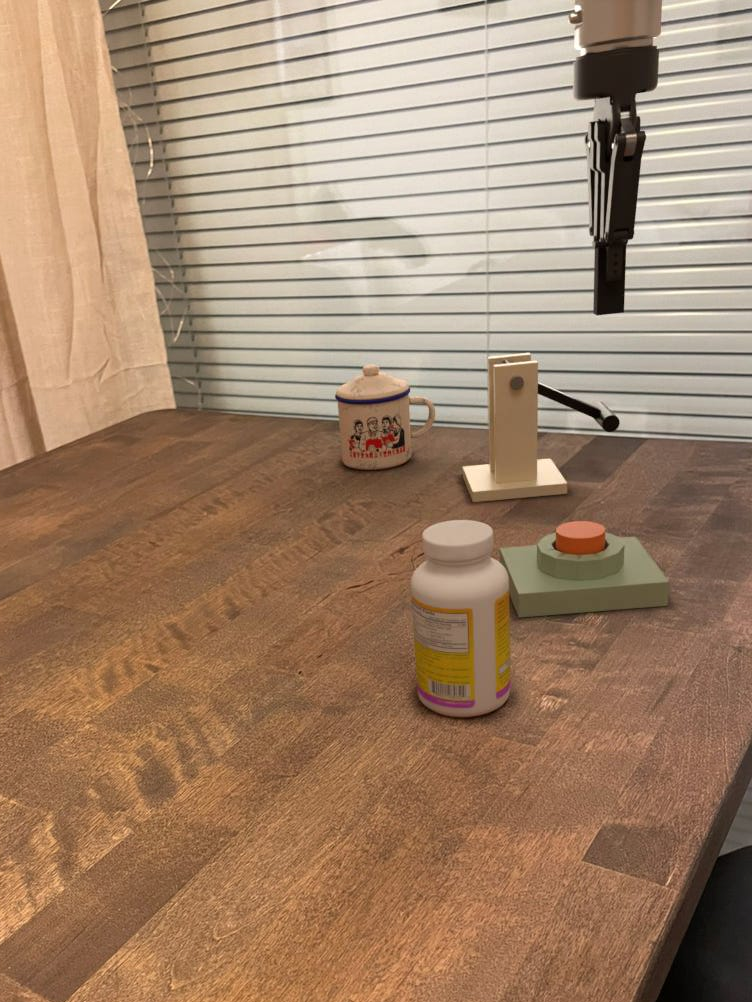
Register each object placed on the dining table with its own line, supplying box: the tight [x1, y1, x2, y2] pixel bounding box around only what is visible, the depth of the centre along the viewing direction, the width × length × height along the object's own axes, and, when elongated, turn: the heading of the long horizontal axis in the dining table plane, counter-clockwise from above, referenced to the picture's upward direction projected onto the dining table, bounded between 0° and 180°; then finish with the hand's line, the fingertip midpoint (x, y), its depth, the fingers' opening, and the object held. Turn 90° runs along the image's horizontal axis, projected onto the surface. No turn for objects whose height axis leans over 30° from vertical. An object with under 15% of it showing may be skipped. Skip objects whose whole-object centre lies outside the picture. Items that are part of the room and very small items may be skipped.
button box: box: [499, 531, 670, 619], centre depth 86 cm, size 12×10×4 cm
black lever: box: [502, 359, 621, 433], centre depth 107 cm, size 13×6×2 cm, turn 87°
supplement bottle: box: [410, 519, 511, 718], centre depth 70 cm, size 7×7×13 cm
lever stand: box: [462, 352, 568, 503], centre depth 109 cm, size 10×9×14 cm
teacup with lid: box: [334, 364, 436, 471], centre depth 123 cm, size 12×9×12 cm
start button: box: [555, 520, 607, 555], centre depth 85 cm, size 4×4×2 cm
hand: (608, 312), depth 103 cm, fingers closed
